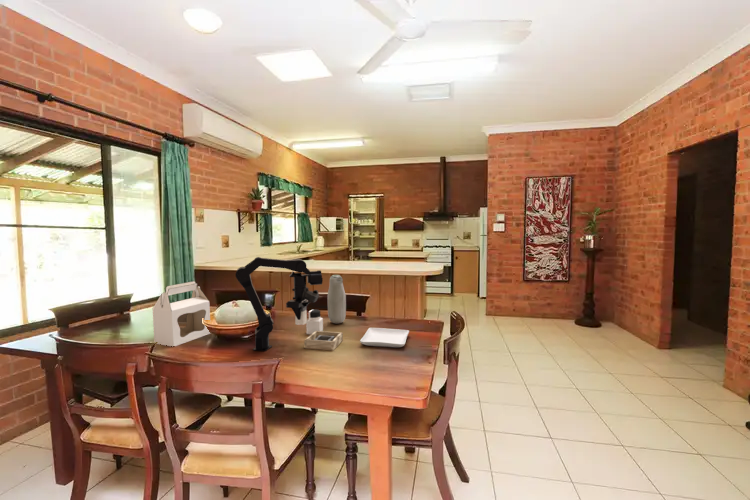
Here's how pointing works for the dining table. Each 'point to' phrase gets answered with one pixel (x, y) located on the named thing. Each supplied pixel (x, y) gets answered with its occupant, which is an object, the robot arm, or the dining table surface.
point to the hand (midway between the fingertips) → (301, 318)
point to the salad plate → (385, 337)
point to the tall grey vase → (336, 300)
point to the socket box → (323, 340)
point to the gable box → (169, 313)
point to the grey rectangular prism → (302, 317)
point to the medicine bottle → (314, 322)
